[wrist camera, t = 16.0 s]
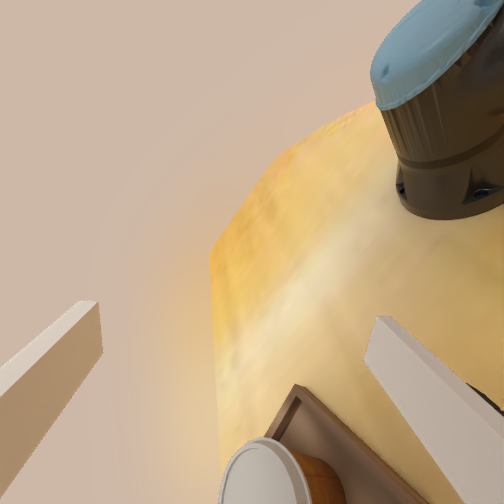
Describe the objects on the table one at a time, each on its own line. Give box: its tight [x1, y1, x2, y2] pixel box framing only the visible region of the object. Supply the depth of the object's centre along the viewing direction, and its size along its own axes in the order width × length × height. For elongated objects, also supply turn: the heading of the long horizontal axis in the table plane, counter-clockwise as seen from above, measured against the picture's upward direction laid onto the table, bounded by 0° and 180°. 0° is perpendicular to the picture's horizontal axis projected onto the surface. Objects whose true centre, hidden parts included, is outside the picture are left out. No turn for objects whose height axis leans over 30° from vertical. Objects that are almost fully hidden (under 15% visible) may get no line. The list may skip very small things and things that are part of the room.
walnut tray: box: [264, 384, 429, 504], centre depth 27 cm, size 16×16×3 cm
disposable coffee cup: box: [218, 437, 346, 504], centre depth 24 cm, size 10×10×12 cm
